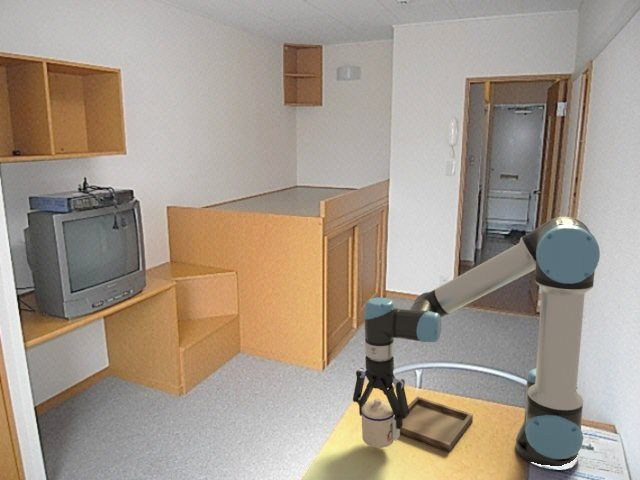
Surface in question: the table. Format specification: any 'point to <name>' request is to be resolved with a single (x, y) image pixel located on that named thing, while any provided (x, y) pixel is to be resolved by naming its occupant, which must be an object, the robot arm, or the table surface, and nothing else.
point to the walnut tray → (435, 424)
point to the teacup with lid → (377, 423)
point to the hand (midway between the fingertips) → (380, 432)
